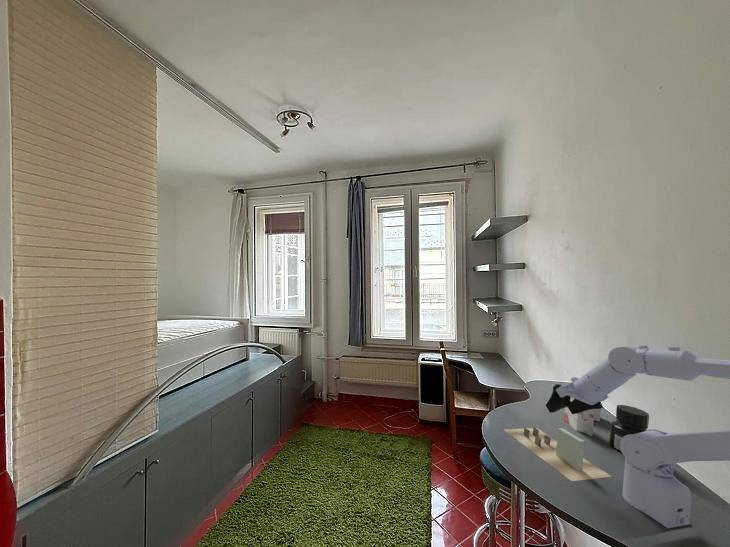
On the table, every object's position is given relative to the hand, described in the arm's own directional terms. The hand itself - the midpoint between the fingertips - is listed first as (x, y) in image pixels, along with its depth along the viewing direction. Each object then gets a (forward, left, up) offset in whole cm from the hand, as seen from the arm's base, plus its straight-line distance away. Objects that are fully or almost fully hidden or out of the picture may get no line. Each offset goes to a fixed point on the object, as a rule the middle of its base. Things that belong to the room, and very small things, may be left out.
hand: (559, 409), depth 79 cm
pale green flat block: (-4, +1, -11) cm, 12 cm away
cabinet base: (+1, +1, -12) cm, 12 cm away
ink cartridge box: (+12, -21, -12) cm, 27 cm away
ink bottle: (-1, -24, -12) cm, 27 cm away
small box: (+20, -34, -12) cm, 41 cm away
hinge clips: (+6, +1, -11) cm, 13 cm away
